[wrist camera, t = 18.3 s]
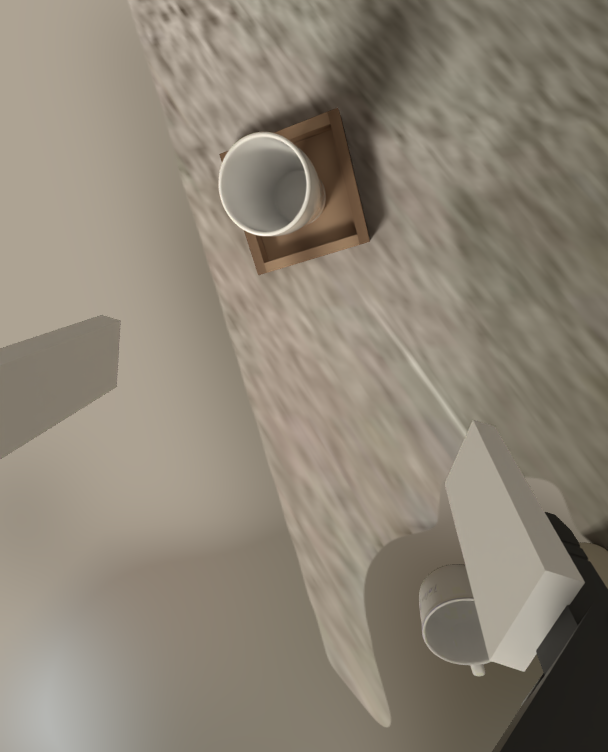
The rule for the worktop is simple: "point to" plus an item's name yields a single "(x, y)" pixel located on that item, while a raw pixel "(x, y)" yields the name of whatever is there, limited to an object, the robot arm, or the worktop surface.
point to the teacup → (452, 618)
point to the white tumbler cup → (270, 185)
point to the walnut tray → (342, 208)
